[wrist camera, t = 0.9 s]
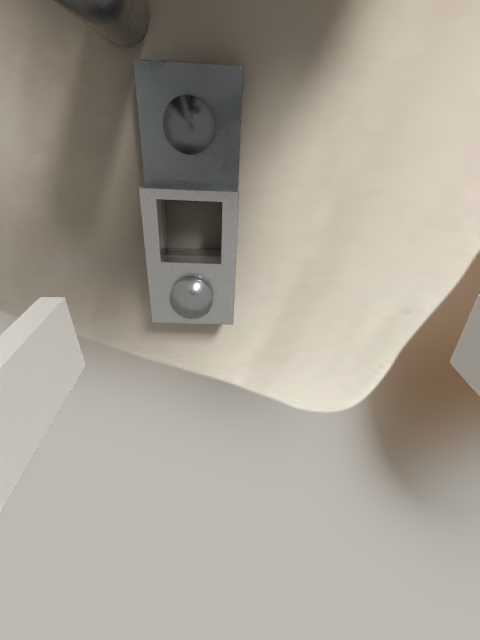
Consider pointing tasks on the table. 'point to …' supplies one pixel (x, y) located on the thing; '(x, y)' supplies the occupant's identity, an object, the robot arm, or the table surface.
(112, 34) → the pin
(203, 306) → the metal block with stud
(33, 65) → the table surface
